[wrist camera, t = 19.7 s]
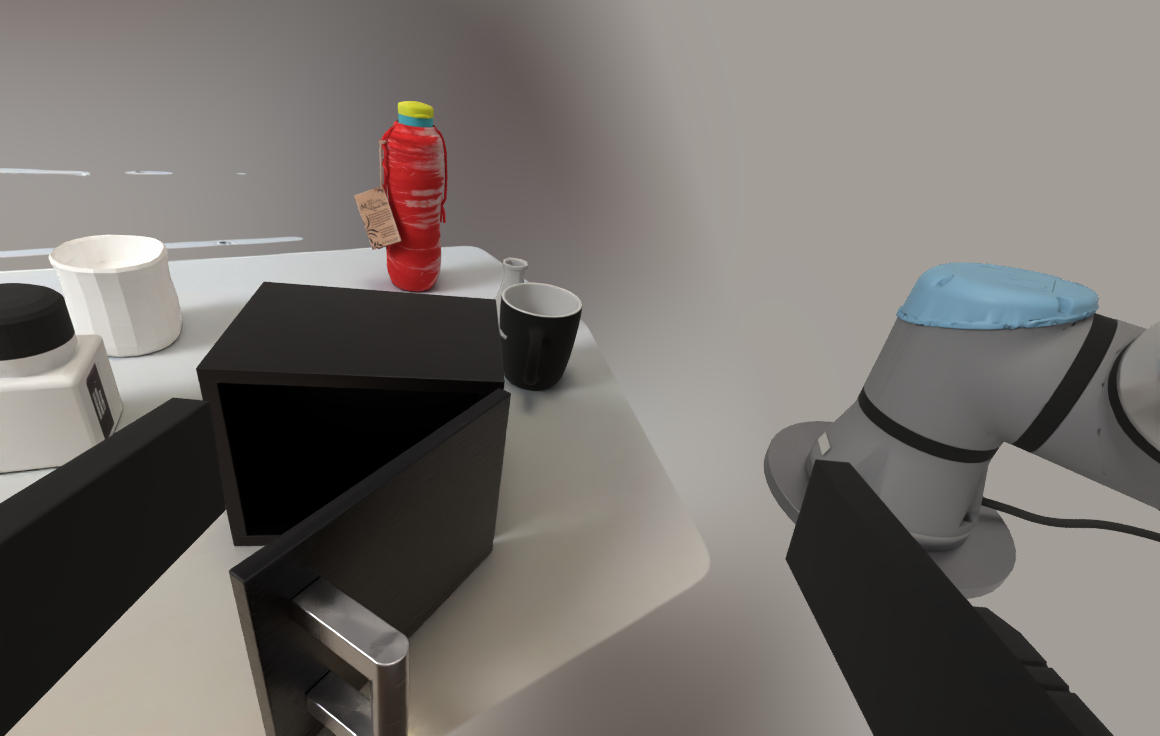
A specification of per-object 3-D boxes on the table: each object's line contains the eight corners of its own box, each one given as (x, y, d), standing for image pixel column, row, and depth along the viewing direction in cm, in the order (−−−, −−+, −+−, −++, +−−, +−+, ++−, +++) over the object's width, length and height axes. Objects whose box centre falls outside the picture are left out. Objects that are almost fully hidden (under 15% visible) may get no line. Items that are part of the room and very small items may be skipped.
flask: (472, 337, 72) (477, 264, 67) (491, 316, 78) (497, 247, 74) (525, 350, 72) (535, 278, 67) (540, 328, 78) (550, 260, 73)
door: (556, 588, 41) (589, 429, 34) (365, 844, 27) (352, 665, 20) (482, 544, 44) (498, 387, 36) (270, 758, 29) (227, 570, 22)
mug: (499, 352, 70) (506, 277, 65) (569, 363, 71) (582, 289, 66) (484, 406, 60) (491, 322, 55) (567, 418, 60) (582, 335, 55)
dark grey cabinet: (487, 541, 44) (504, 381, 37) (233, 546, 40) (195, 368, 33) (483, 438, 55) (496, 299, 48) (283, 434, 51) (263, 281, 43)
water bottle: (371, 301, 76) (365, 102, 64) (353, 279, 82) (345, 91, 69) (453, 292, 83) (463, 111, 71) (432, 272, 88) (438, 100, 76)
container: (125, 407, 50) (84, 273, 44) (103, 463, 45) (53, 317, 38) (11, 417, 47) (-51, 273, 41) (-29, 478, 41) (-108, 322, 35)
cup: (161, 308, 66) (142, 228, 61) (206, 340, 62) (190, 256, 57) (59, 332, 59) (28, 242, 54) (103, 369, 55) (74, 276, 50)
